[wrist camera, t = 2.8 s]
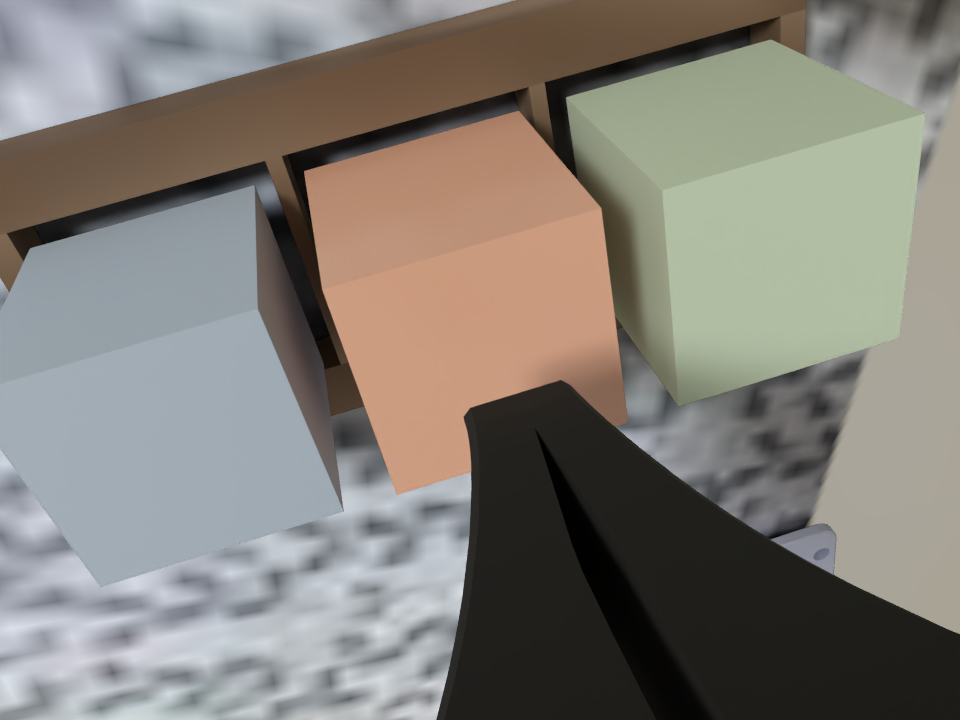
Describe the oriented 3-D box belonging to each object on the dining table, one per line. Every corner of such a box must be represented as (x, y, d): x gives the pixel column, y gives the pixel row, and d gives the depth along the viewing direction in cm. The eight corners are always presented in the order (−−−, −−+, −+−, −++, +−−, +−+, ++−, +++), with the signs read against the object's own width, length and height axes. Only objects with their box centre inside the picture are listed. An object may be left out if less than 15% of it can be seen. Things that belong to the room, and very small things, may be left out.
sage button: (769, 229, 18) (899, 338, 14) (591, 282, 18) (678, 406, 14) (771, 39, 16) (925, 113, 12) (566, 97, 15) (662, 190, 12)
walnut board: (771, 250, 20) (798, 273, 19) (131, 443, 19) (125, 478, 18) (773, -71, 16) (807, -61, 15) (-43, 152, 15) (-62, 177, 14)
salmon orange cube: (551, 295, 18) (628, 422, 14) (365, 350, 17) (396, 494, 14) (518, 110, 15) (601, 207, 12) (303, 171, 15) (322, 289, 11)
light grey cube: (323, 362, 17) (343, 511, 14) (130, 420, 17) (100, 587, 13) (254, 185, 15) (258, 308, 11) (30, 248, 15) (-39, 395, 11)
